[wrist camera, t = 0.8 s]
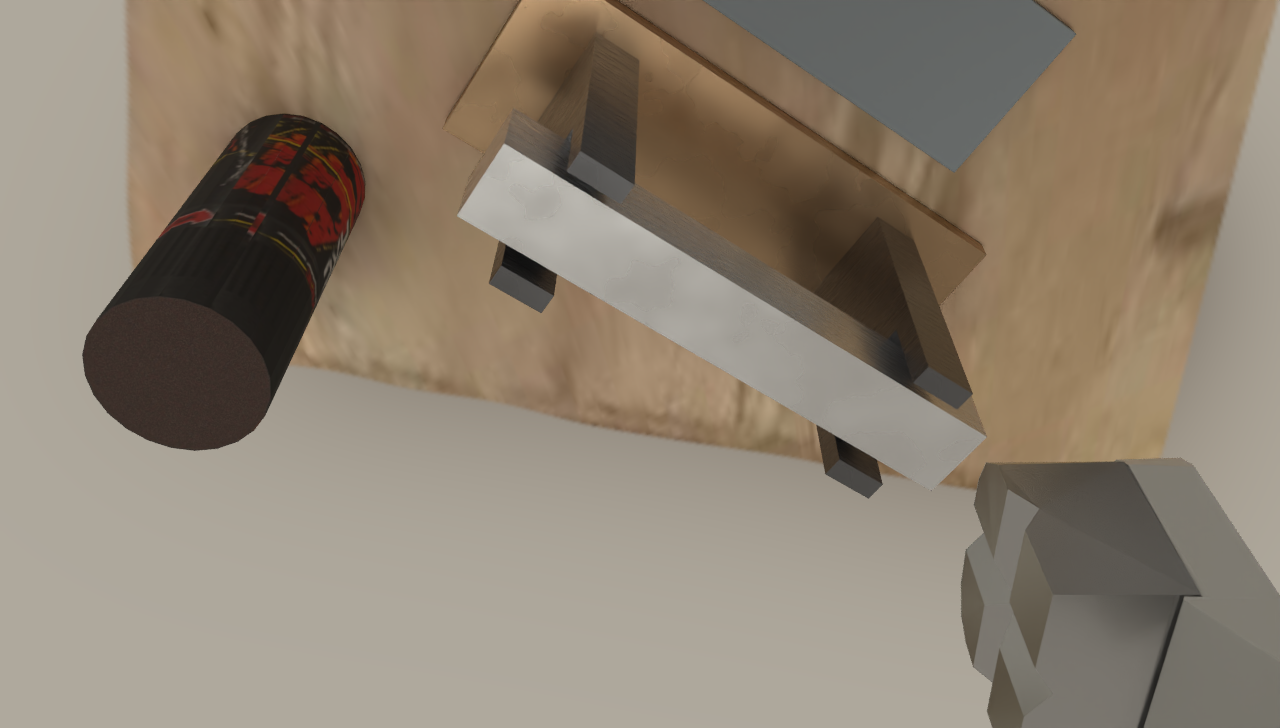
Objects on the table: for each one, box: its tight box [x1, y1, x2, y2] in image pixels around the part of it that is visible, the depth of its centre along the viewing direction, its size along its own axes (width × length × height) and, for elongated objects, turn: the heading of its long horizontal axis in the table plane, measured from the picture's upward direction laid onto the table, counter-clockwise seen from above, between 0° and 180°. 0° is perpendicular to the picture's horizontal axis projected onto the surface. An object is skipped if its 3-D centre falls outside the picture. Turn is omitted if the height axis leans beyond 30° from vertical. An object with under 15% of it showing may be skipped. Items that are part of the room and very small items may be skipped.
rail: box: [457, 108, 987, 491], centre depth 43 cm, size 20×3×3 cm, turn 56°
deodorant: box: [82, 114, 365, 451], centre depth 45 cm, size 6×6×15 cm
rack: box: [443, 0, 986, 498], centre depth 46 cm, size 8×22×12 cm, turn 56°
